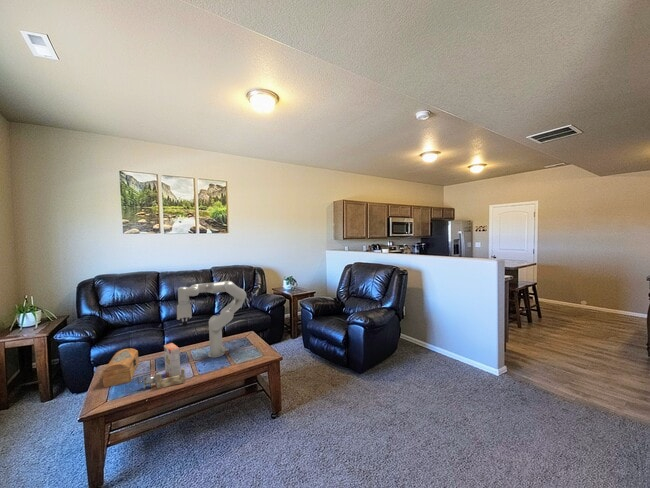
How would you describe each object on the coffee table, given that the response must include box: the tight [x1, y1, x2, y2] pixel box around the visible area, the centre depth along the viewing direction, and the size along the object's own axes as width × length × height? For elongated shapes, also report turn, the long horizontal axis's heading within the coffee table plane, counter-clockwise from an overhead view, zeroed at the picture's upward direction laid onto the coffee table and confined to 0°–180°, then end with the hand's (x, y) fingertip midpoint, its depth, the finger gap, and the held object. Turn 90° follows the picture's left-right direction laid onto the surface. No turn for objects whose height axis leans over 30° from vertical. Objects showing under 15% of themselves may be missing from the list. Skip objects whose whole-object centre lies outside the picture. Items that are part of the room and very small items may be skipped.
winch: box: [136, 373, 158, 390], centre depth 179 cm, size 11×4×8 cm, turn 115°
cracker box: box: [163, 342, 181, 378], centre depth 193 cm, size 14×6×21 cm, turn 47°
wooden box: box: [101, 348, 139, 388], centre depth 196 cm, size 30×16×14 cm, turn 24°
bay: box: [156, 367, 186, 390], centre depth 185 cm, size 16×10×9 cm, turn 115°
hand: (184, 326), depth 216 cm, fingers closed
